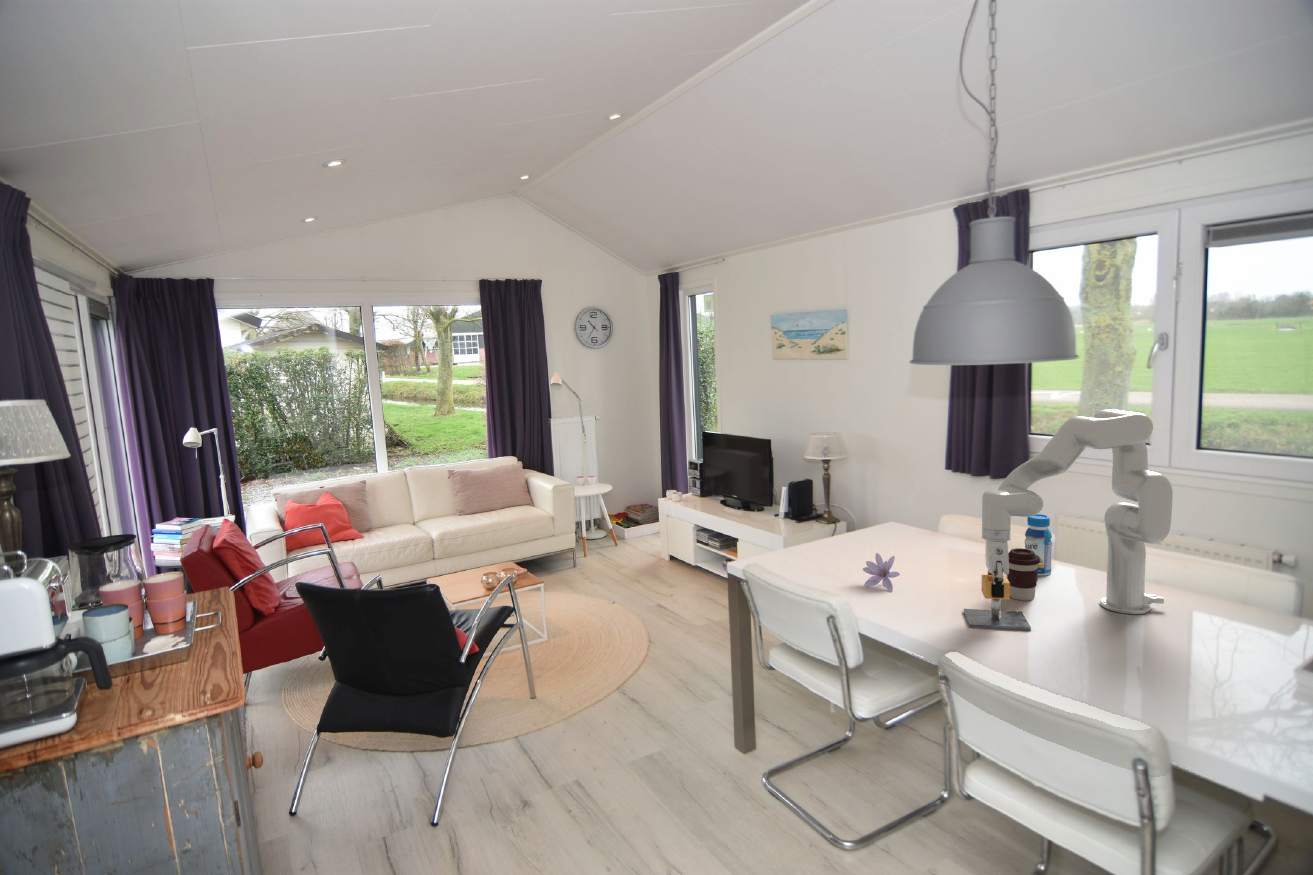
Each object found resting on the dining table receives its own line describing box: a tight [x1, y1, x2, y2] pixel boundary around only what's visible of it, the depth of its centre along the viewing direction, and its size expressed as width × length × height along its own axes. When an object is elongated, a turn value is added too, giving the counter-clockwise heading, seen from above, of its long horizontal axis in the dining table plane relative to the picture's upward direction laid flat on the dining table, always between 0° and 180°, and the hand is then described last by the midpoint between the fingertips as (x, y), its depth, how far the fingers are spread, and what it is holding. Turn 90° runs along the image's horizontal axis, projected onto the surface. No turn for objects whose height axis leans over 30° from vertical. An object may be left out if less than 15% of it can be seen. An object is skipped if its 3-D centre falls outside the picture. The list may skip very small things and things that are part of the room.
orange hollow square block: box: [981, 574, 1011, 601], centre depth 205 cm, size 6×6×5 cm
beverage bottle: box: [1024, 513, 1053, 577], centre depth 243 cm, size 8×8×20 cm
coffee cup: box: [1006, 547, 1040, 602], centre depth 222 cm, size 10×10×15 cm
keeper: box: [963, 599, 1032, 632], centre depth 206 cm, size 16×12×9 cm
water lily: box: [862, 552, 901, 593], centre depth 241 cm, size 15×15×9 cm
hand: (995, 592), depth 205 cm, fingers closed on orange hollow square block, 6 cm apart
